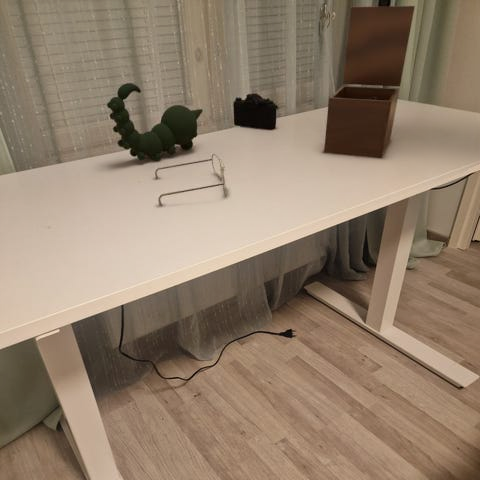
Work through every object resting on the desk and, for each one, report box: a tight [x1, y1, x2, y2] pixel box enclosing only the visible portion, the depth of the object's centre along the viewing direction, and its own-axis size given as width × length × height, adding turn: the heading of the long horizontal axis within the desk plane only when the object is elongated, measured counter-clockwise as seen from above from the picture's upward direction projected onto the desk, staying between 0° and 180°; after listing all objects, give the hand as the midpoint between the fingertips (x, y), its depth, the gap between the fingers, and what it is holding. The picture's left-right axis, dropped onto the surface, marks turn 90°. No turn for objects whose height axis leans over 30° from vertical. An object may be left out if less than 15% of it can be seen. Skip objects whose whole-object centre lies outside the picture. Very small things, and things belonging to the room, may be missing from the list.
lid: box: [342, 5, 416, 88], centre depth 106 cm, size 16×15×1 cm
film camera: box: [232, 92, 279, 131], centre depth 131 cm, size 15×10×9 cm, turn 59°
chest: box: [323, 85, 400, 159], centre depth 109 cm, size 16×15×13 cm
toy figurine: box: [106, 82, 203, 162], centre depth 107 cm, size 9×19×25 cm
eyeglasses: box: [154, 153, 228, 207], centre depth 92 cm, size 16×15×5 cm
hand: (380, 32), depth 106 cm, fingers closed
